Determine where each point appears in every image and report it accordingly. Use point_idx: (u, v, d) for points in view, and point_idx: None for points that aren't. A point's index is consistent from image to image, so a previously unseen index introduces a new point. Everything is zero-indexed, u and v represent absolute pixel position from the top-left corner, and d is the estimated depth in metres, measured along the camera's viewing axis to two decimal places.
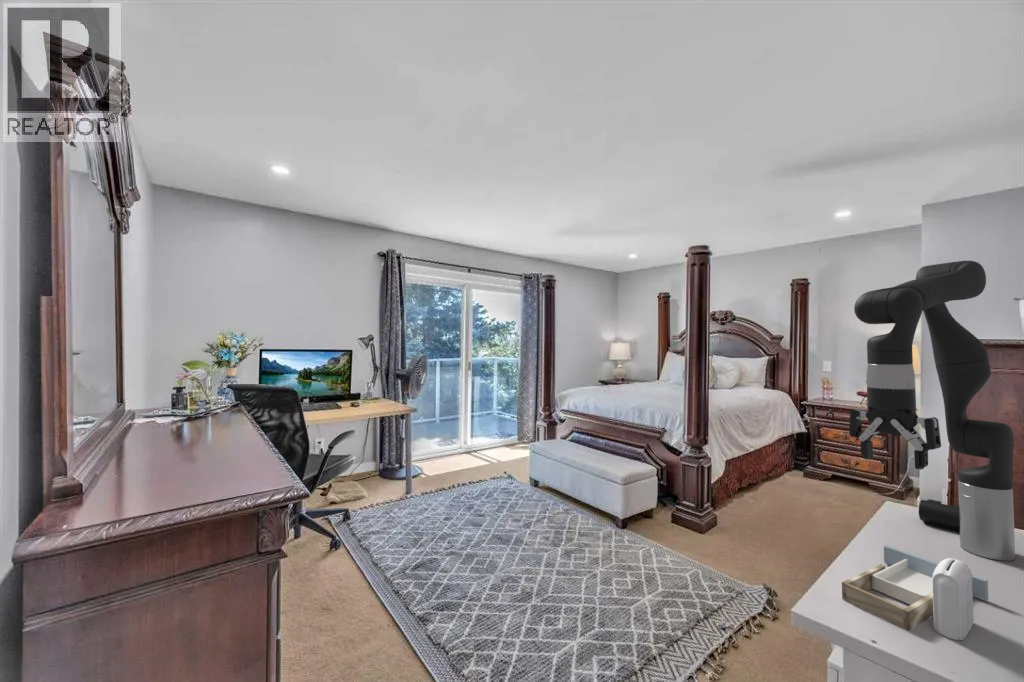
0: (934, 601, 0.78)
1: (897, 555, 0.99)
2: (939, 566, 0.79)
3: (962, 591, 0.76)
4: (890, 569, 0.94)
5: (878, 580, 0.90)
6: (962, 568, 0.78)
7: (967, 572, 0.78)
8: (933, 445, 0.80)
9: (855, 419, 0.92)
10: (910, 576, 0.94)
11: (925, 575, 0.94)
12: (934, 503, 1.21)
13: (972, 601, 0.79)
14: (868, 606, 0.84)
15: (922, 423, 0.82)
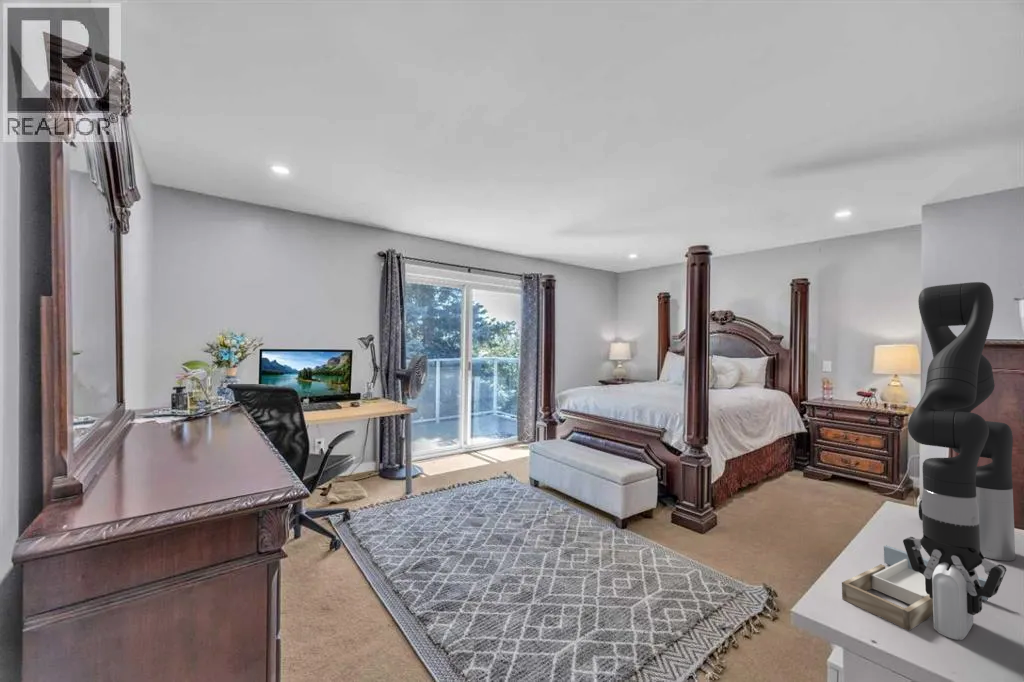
0: (934, 601, 0.78)
1: (897, 555, 0.99)
2: (939, 566, 0.79)
3: (962, 591, 0.76)
4: (890, 569, 0.94)
5: (878, 580, 0.90)
6: None
7: None
8: (989, 594, 0.74)
9: (912, 550, 0.84)
10: (910, 576, 0.94)
11: None
12: None
13: None
14: (868, 606, 0.84)
15: (987, 568, 0.75)
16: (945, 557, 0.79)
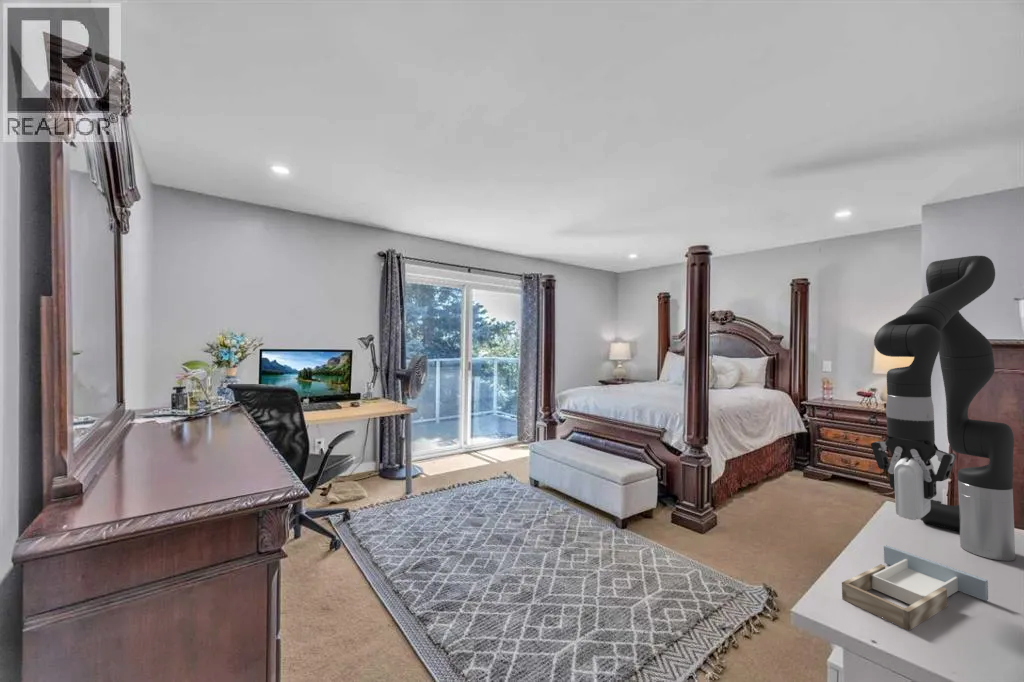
0: (895, 489, 0.90)
1: (897, 555, 0.99)
2: (900, 460, 0.91)
3: (918, 477, 0.87)
4: (890, 569, 0.94)
5: (878, 580, 0.90)
6: None
7: None
8: (942, 478, 0.86)
9: (878, 451, 0.95)
10: (910, 576, 0.94)
11: (925, 575, 0.94)
12: (934, 503, 1.21)
13: None
14: (868, 606, 0.84)
15: (939, 456, 0.86)
16: (905, 452, 0.91)
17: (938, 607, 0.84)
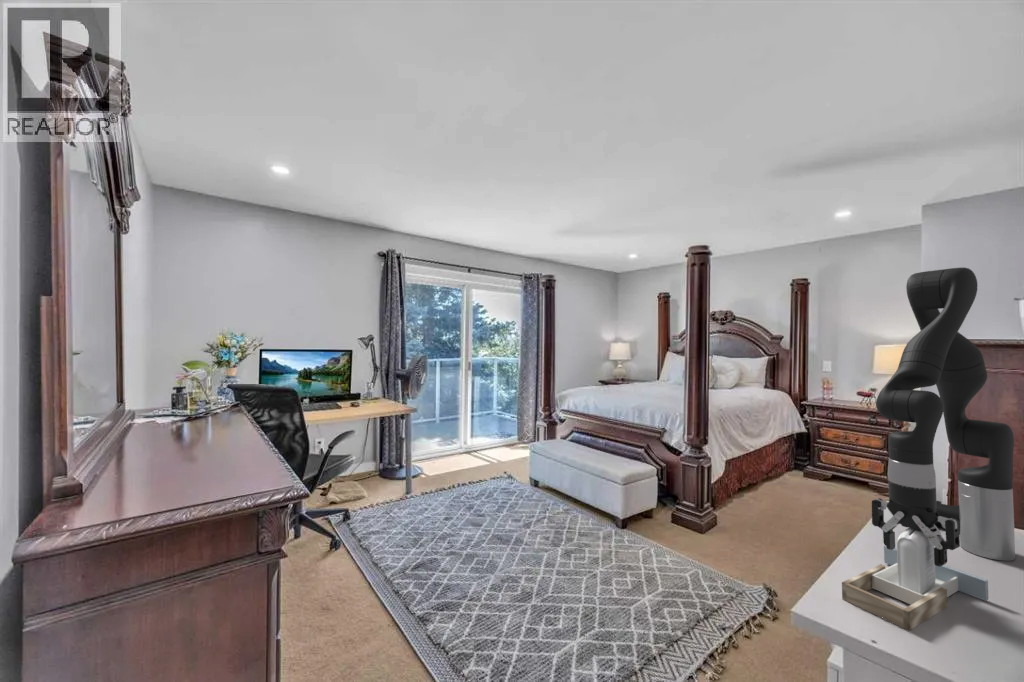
0: (898, 562, 0.90)
1: None
2: (903, 532, 0.90)
3: (921, 552, 0.87)
4: (890, 569, 0.94)
5: (878, 580, 0.90)
6: None
7: None
8: (952, 546, 0.84)
9: (877, 509, 0.96)
10: None
11: None
12: None
13: None
14: (868, 606, 0.84)
15: (943, 523, 0.86)
16: (906, 518, 0.91)
17: (938, 607, 0.84)
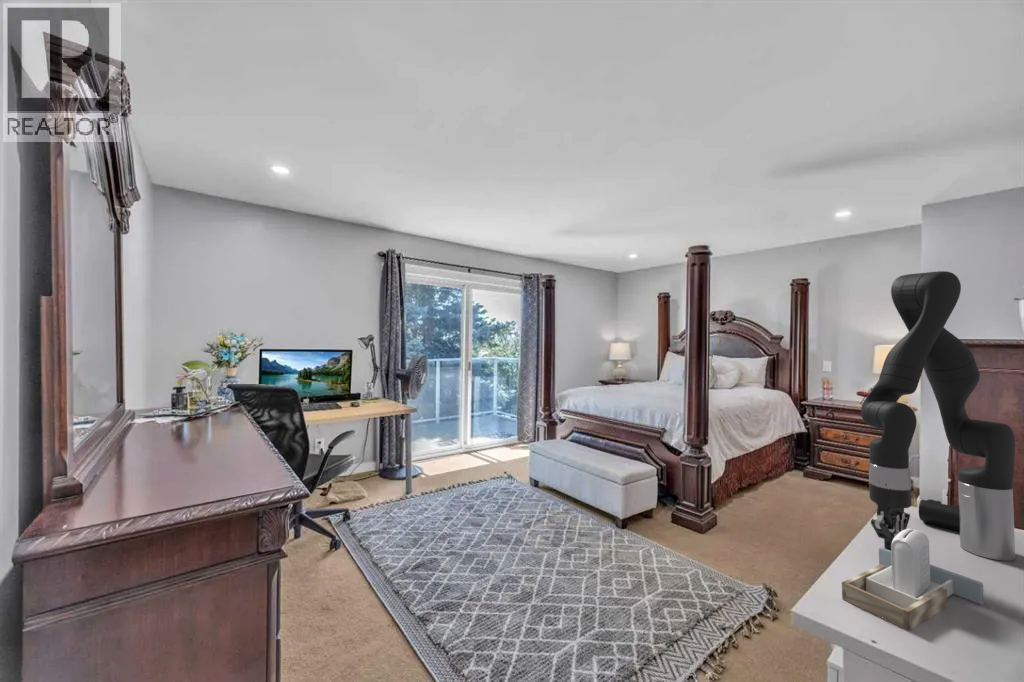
0: (892, 565, 0.88)
1: None
2: (898, 534, 0.89)
3: (916, 555, 0.86)
4: (885, 572, 0.93)
5: (872, 583, 0.89)
6: (918, 536, 0.88)
7: (923, 540, 0.88)
8: None
9: None
10: None
11: None
12: (934, 503, 1.21)
13: (929, 566, 0.89)
14: (868, 606, 0.84)
15: None
16: None
17: (938, 607, 0.84)
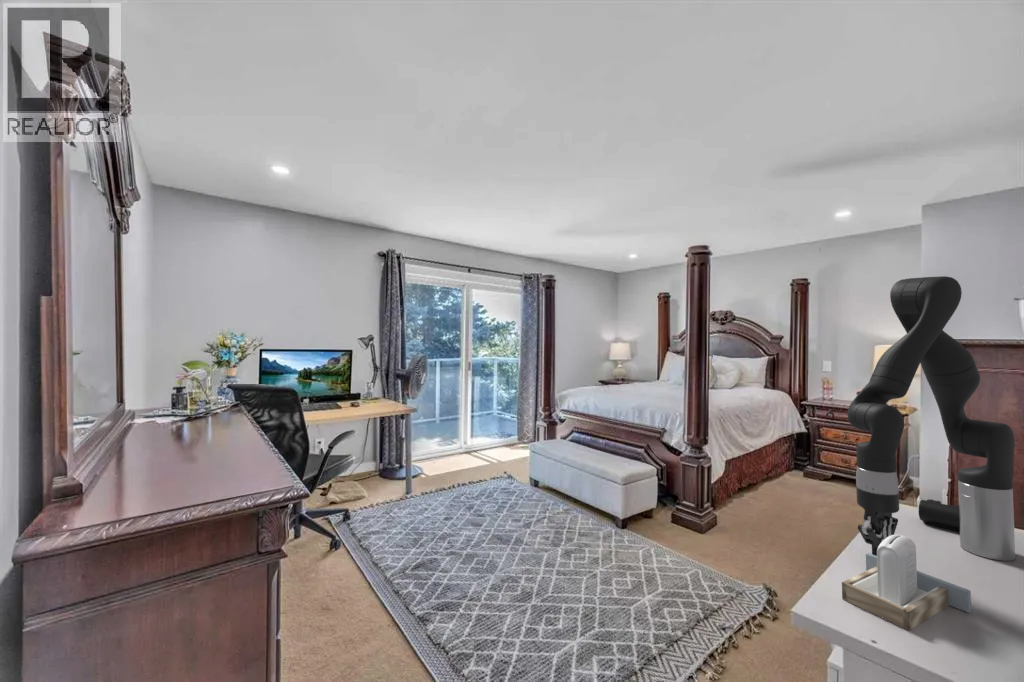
0: (878, 571, 0.86)
1: None
2: (884, 540, 0.87)
3: (901, 562, 0.83)
4: (871, 578, 0.91)
5: None
6: (904, 542, 0.86)
7: (909, 546, 0.86)
8: None
9: None
10: None
11: None
12: (934, 503, 1.21)
13: (915, 573, 0.87)
14: (868, 606, 0.84)
15: None
16: None
17: (938, 607, 0.84)
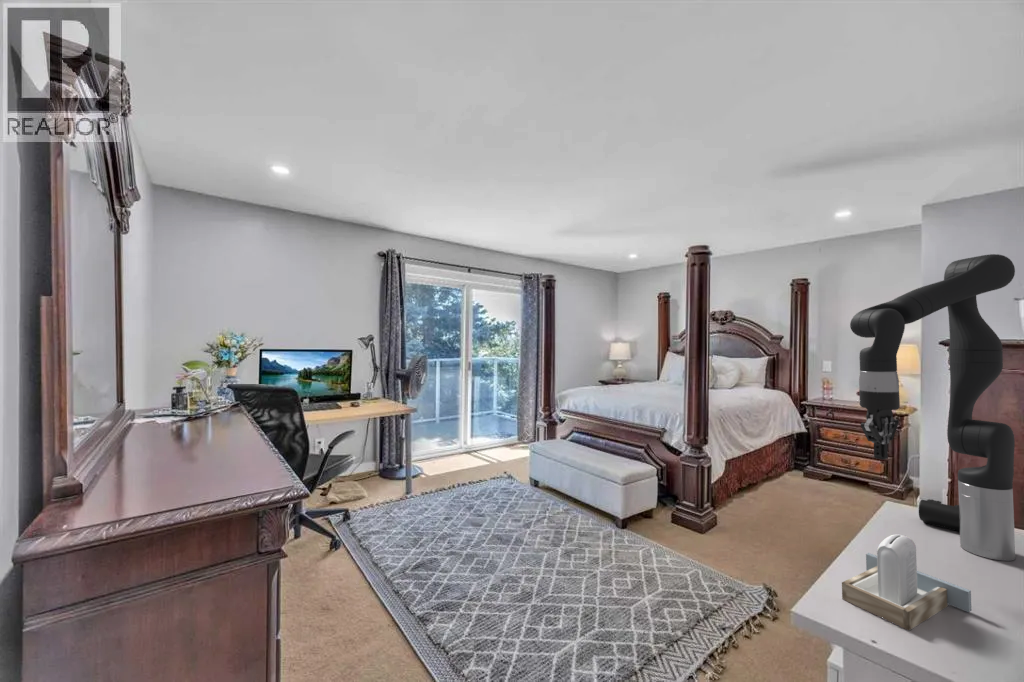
0: (878, 571, 0.86)
1: None
2: (884, 540, 0.87)
3: (902, 562, 0.84)
4: (871, 578, 0.91)
5: None
6: (905, 542, 0.86)
7: (909, 546, 0.86)
8: (868, 439, 1.04)
9: None
10: None
11: None
12: (934, 503, 1.21)
13: (915, 573, 0.87)
14: (868, 606, 0.84)
15: None
16: None
17: (938, 607, 0.84)
